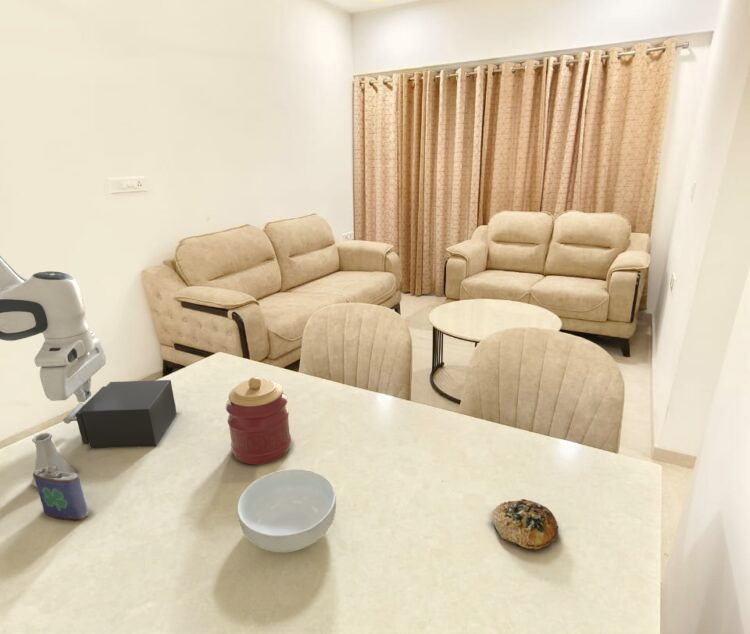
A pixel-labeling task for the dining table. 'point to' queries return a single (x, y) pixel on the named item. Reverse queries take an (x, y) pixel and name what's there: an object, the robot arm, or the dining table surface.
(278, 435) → the kitchen canister
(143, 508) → the dining table surface
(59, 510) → the flask
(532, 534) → the bread roll
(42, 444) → the flask
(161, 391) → the dark grey box
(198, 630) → the dining table surface
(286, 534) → the cereal bowl
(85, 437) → the open drawer
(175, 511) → the dining table surface
